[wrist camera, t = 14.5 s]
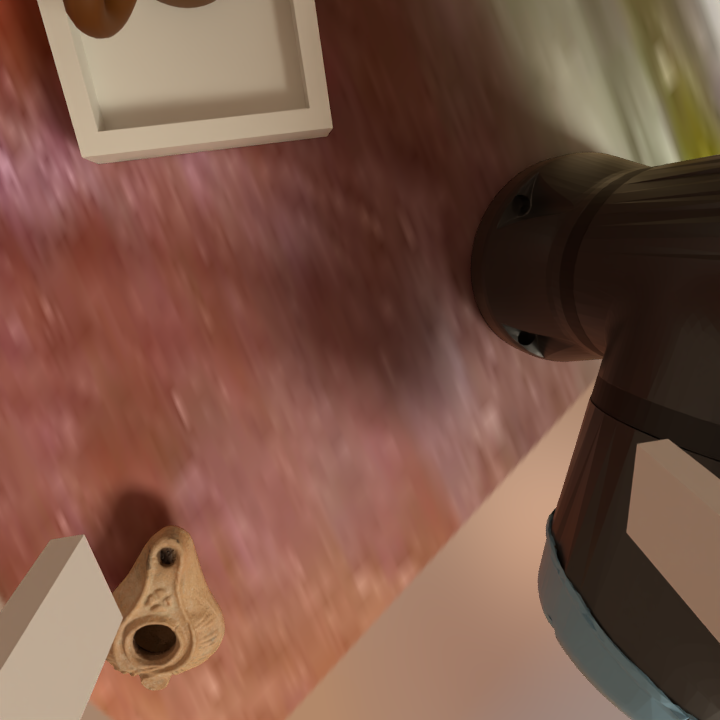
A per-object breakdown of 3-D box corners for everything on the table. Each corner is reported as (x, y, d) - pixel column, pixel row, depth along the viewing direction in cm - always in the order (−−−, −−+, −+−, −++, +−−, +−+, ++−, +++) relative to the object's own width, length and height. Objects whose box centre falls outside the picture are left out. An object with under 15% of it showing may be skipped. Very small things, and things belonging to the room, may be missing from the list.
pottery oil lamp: (235, 510, 37) (257, 598, 32) (199, 594, 43) (213, 679, 38) (107, 522, 32) (111, 628, 27) (86, 616, 38) (87, 717, 33)
